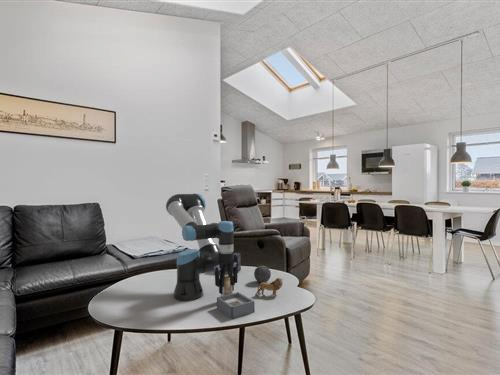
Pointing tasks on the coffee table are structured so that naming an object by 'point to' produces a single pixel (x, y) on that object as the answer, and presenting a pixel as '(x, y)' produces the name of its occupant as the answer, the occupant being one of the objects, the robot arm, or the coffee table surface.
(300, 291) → the coffee table surface
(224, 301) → the box
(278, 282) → the lion figurine
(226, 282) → the peg
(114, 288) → the coffee table surface
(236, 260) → the small box
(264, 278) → the decorative ball
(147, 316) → the coffee table surface
